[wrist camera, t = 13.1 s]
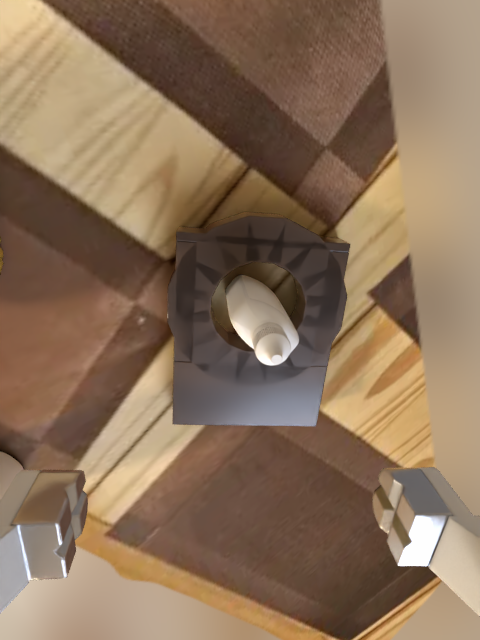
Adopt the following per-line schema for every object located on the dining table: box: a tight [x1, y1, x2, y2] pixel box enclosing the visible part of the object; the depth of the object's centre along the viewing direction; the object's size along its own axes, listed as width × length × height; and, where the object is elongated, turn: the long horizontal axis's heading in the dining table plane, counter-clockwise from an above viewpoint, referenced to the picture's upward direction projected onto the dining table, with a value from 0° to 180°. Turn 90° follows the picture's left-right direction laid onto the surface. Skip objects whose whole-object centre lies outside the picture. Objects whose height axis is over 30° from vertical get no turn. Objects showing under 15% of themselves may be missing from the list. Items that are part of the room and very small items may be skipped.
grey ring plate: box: [167, 212, 350, 426], centre depth 34 cm, size 20×15×3 cm
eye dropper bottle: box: [225, 275, 299, 366], centre depth 29 cm, size 4×6×12 cm
